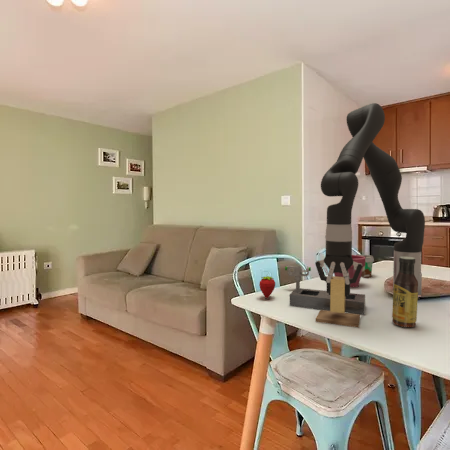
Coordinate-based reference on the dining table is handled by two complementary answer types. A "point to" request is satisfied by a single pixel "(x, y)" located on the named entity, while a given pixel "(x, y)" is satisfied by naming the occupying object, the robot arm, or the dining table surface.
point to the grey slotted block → (325, 300)
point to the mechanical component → (297, 273)
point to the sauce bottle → (405, 294)
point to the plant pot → (352, 271)
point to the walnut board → (338, 318)
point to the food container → (367, 266)
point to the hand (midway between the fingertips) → (338, 294)
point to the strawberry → (267, 286)
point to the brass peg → (337, 295)
